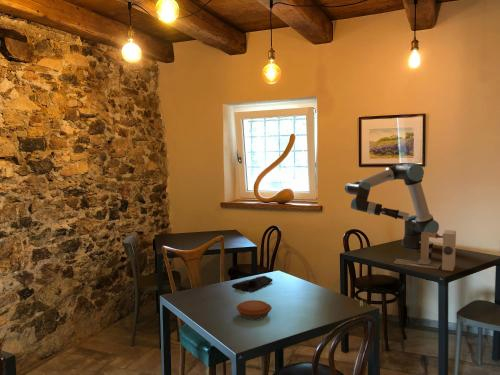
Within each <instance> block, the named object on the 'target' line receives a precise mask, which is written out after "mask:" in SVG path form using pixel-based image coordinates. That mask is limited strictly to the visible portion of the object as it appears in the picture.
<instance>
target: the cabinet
mask: <svg viewBox="0 0 500 375" xmlns="http://www.w3.org/2000/svg"><path fill="white" fill-rule="evenodd" d="M442 233H443V234H442V235H443V238H442V256H441V257H442V259H441V270H442V271H451V272H453V271H454V269H455V266H456V244H457V243H456V242H457V231H456V230H451V229H450V230H448V229H445V230H444V232H442Z"/></svg>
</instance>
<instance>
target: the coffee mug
mask: <svg viewBox="0 0 500 375" xmlns="http://www.w3.org/2000/svg"><path fill="white" fill-rule="evenodd" d="M419 244H420V245H418V246H420V248H419V249H418V248H417V247H418V246H417V247H416V248H415V249H416V251H417V252H418V253H419V254H420V256H421V241H420V242H419ZM433 249H434V242H433V241H429V256H428V259H430V260H431V259H432V253H433Z"/></svg>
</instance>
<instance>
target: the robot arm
mask: <svg viewBox="0 0 500 375" xmlns="http://www.w3.org/2000/svg"><path fill="white" fill-rule="evenodd" d="M424 176H425V171H424V168H423V167H422V166H421V165H420V164H418V163H413V162H412V163H411V162H410V163H409V162H408V163H406V162H400V163H397V164H393V165H391V166H389V167H386V168H385V169H384V170H383V171H380V172H377V173H375V174H372V175H370V176H367V177H365V178H362V179H360V180H357V181H355V182H347V183H346V184H345V186H344V190H345V193H346V194H349V195H355V197H352V199H351V203H350V208H351V209H352V210H355V211H358V212H359V211H360V212H363V213H367V214H368V215H370V214H371V215H374V216H381V215H384V216H387V217H390V218H393V219H394V220H402V221H404V235H403V238H402V241H401V246H402V247H404V248H408V249H416V247H417V246H418V245H420V244H419V242H420V241H421V233H422V232H429V233H438V232H439V230H440V225H439V224H440V223H439V222H438V221H437V220H435V219H434V216H433V214H431V213H430V210H429V207H428V204H427V199H426V197H425V194H424V189H423V186H422V182H423V178H424ZM395 180H401V181H402V180H403V181H404V185H405V186H406V187H408V190H409V194H410V198H411V201H412V204H413V208H414V211H415V214H414V215H410V213H408V212H405V211H400V210H399V209H393V208H387V207H383V204H381V203H379V202H378V203H377V202H373V201H368V199H369V195H370V192H371V188H373V187H375V186H379V185H380V184H383V183H386V182H388V181H390V182H392V181H395ZM382 207H383V208H382ZM417 249H420V246H418V247H417Z"/></svg>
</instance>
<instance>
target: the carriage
mask: <svg viewBox="0 0 500 375" xmlns="http://www.w3.org/2000/svg"><path fill="white" fill-rule="evenodd" d="M435 235H436V233H429V232H422V233H421V255H420V257H419V258H418V260H417V261H418V263H419V264H428V265H429V263H431V258H430V259H428V256H429V242H430V238H433V239H434V238H435ZM435 239H436V238H435Z"/></svg>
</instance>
